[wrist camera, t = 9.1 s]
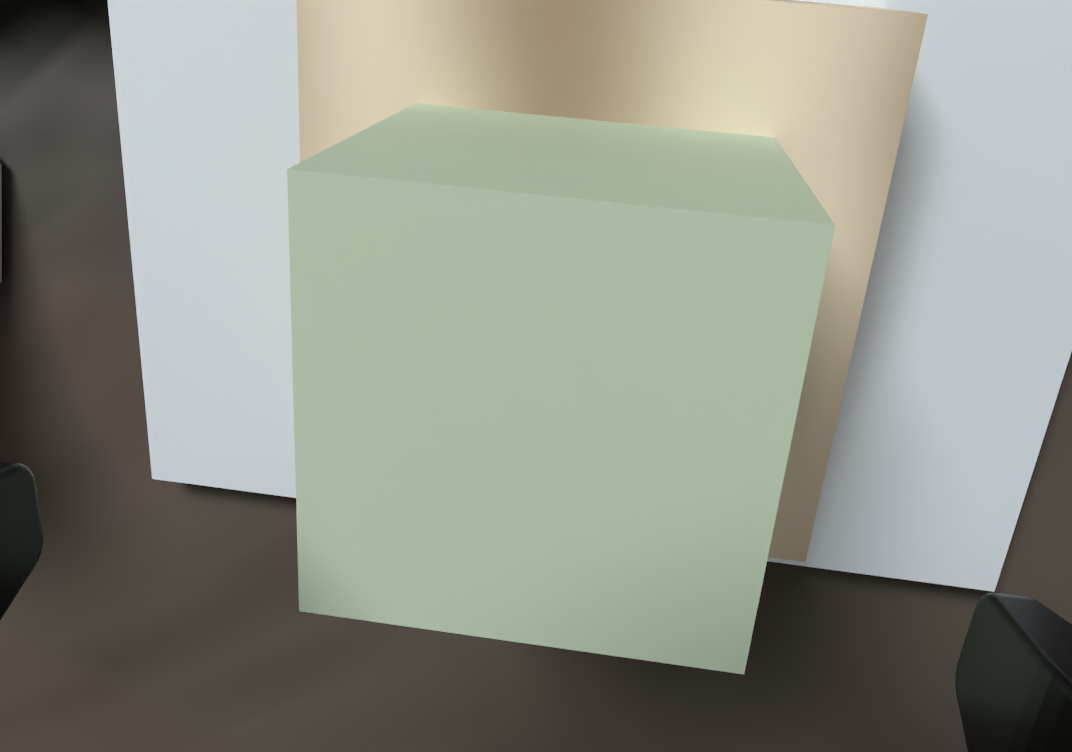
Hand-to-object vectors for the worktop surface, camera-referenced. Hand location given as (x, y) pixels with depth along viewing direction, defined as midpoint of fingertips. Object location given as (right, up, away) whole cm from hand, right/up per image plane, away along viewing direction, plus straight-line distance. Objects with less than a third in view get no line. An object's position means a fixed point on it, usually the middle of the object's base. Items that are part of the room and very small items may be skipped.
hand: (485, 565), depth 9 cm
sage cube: (+1, +3, +8) cm, 9 cm away
